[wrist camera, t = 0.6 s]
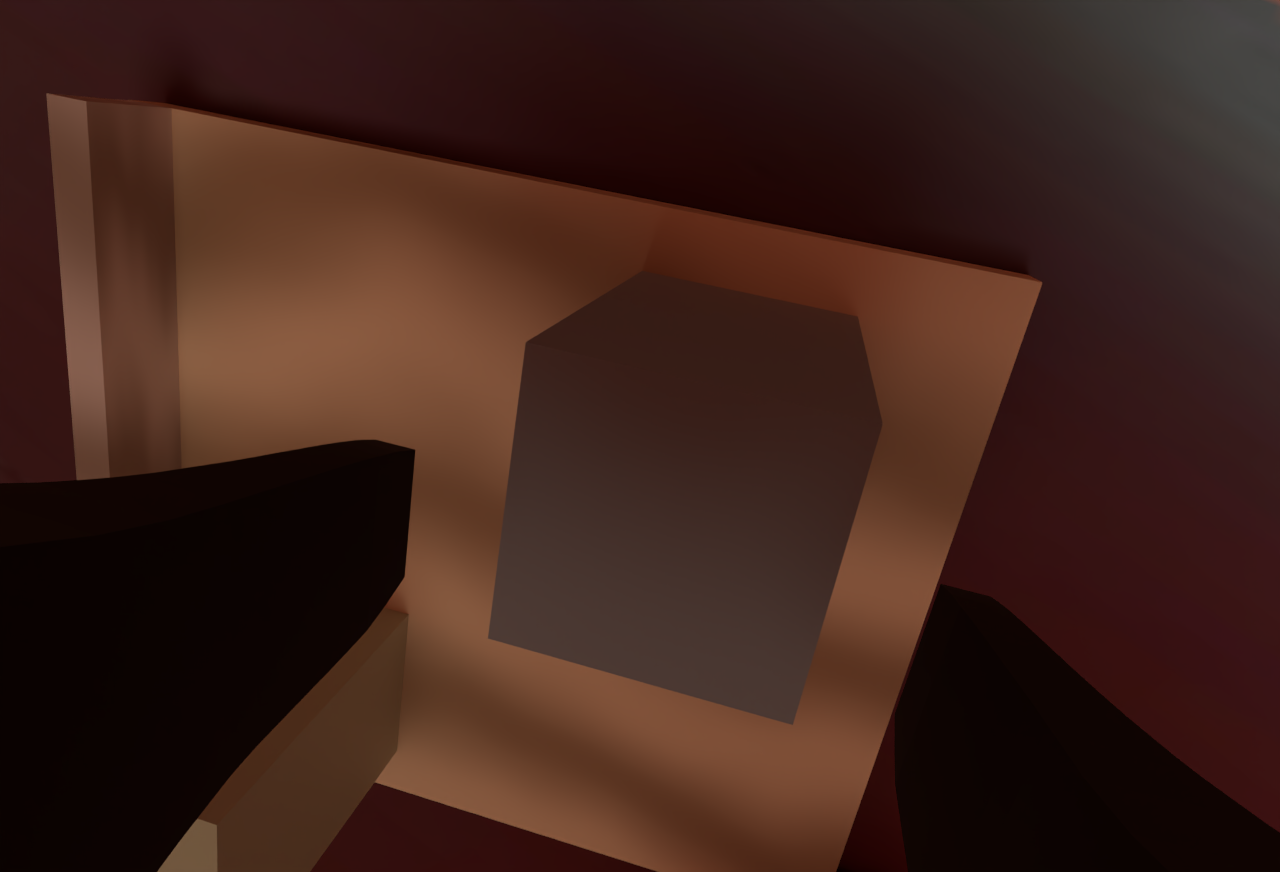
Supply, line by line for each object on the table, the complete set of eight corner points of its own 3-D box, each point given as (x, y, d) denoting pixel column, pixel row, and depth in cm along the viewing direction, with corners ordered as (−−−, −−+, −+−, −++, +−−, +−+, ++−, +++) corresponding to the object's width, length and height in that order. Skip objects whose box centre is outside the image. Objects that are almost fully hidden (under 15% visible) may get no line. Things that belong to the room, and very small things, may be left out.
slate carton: (801, 521, 20) (790, 735, 13) (606, 473, 21) (486, 648, 13) (857, 316, 18) (882, 423, 11) (642, 270, 19) (525, 342, 11)
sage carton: (396, 750, 25) (219, 997, 18) (246, 704, 26) (14, 922, 18) (408, 614, 23) (217, 824, 16) (246, 568, 24) (-10, 749, 17)
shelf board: (818, 888, 25) (818, 1004, 21) (180, 689, 28) (90, 764, 24) (1029, 275, 18) (1077, 301, 15) (160, 102, 21) (33, 90, 18)
